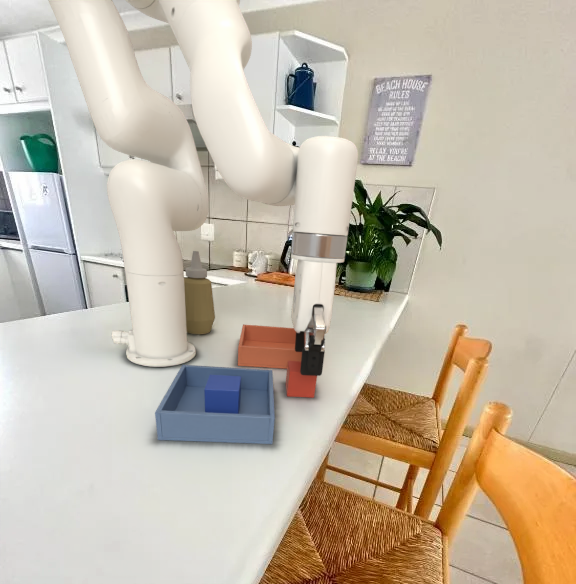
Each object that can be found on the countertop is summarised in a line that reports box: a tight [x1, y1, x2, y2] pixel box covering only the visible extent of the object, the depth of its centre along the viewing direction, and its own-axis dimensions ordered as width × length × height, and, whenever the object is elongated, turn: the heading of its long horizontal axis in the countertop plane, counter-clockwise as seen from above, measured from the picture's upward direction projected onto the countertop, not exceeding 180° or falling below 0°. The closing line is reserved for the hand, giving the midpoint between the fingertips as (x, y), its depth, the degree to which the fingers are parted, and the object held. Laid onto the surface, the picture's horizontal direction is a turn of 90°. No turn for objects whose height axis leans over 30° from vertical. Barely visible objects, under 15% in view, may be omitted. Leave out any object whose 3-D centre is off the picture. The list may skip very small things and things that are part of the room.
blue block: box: [204, 375, 241, 414], centre depth 45 cm, size 4×4×4 cm
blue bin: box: [154, 364, 276, 445], centre depth 46 cm, size 14×14×4 cm
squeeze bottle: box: [184, 250, 216, 335], centre depth 74 cm, size 8×8×18 cm
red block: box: [285, 361, 318, 399], centre depth 54 cm, size 4×4×4 cm
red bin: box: [237, 324, 302, 370], centre depth 68 cm, size 14×14×4 cm
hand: (306, 362), depth 52 cm, fingers open, 9 cm apart
